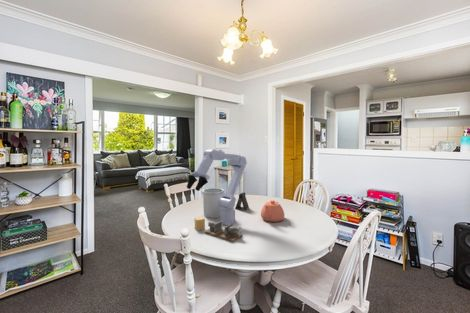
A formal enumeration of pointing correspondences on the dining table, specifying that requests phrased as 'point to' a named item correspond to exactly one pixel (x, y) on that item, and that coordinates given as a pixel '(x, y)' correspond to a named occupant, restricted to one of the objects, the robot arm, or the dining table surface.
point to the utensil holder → (212, 202)
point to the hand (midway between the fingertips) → (192, 189)
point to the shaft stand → (223, 231)
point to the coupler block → (199, 223)
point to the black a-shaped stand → (242, 200)
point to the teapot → (272, 211)
